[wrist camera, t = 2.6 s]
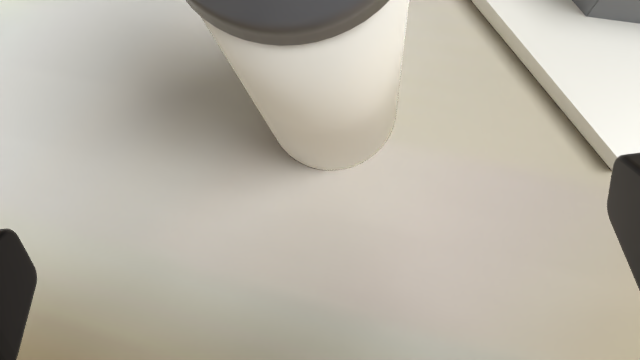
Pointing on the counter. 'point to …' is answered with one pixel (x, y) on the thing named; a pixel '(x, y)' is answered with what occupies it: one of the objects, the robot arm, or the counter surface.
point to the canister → (316, 70)
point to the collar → (581, 62)
